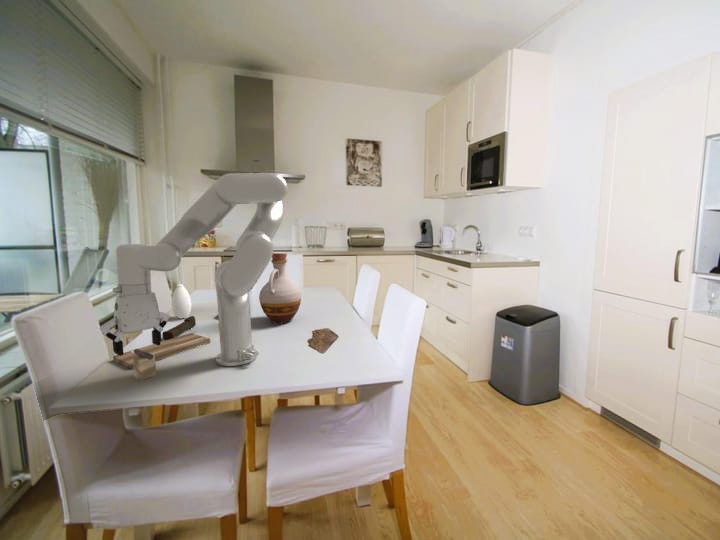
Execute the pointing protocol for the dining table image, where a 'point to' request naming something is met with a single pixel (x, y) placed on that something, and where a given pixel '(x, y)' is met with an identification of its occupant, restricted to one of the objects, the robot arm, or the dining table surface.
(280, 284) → the jug
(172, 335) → the hand tool
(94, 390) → the dining table surface
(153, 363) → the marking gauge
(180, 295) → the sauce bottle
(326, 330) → the wooden fragment
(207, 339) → the board
